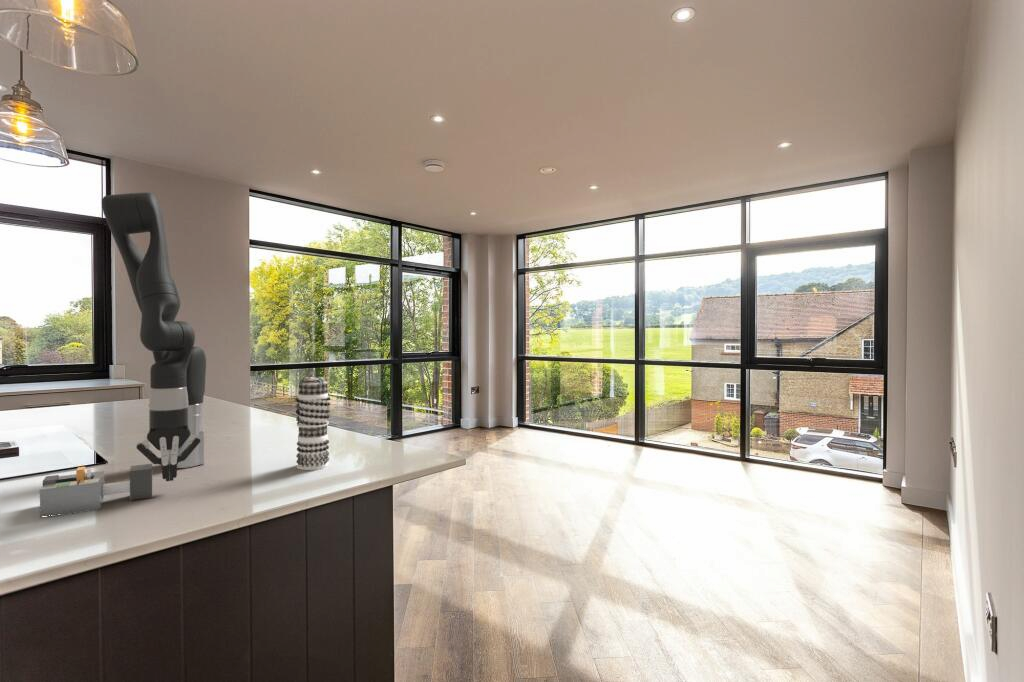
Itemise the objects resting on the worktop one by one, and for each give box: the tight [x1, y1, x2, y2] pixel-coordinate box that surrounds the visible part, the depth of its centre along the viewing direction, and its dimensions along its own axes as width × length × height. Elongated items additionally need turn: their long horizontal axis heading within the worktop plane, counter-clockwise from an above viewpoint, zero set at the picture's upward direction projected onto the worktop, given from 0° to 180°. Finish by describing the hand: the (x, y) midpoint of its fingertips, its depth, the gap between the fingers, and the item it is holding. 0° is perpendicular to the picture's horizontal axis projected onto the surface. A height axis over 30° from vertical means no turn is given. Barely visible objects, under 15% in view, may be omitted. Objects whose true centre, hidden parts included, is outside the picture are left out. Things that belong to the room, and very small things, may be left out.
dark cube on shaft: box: [86, 463, 153, 501], centre depth 115 cm, size 12×5×8 cm, turn 124°
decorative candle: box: [294, 376, 331, 471], centre depth 144 cm, size 9×9×25 cm
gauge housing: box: [39, 470, 106, 518], centre depth 110 cm, size 10×10×7 cm
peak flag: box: [75, 466, 86, 481], centre depth 111 cm, size 1×3×7 cm, turn 34°
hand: (169, 480), depth 120 cm, fingers closed
